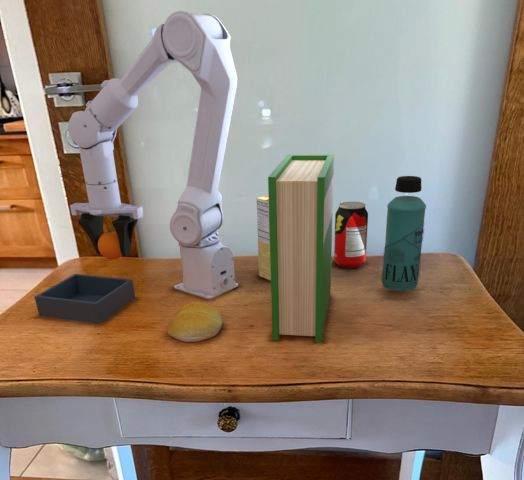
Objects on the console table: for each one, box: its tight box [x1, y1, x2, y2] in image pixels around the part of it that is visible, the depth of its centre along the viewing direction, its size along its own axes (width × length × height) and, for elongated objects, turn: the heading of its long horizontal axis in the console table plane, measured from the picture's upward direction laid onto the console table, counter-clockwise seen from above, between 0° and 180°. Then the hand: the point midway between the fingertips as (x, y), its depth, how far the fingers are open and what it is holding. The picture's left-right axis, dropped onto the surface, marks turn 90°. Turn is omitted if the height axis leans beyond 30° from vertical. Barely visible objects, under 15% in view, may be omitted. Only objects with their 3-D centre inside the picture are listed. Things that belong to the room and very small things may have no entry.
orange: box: [98, 229, 123, 260], centre depth 107 cm, size 5×5×6 cm
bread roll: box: [166, 301, 224, 343], centre depth 86 cm, size 8×9×4 cm
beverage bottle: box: [380, 175, 427, 292], centre depth 94 cm, size 6×7×20 cm
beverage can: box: [333, 201, 369, 269], centre depth 109 cm, size 6×6×12 cm
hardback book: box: [267, 154, 335, 343], centre depth 85 cm, size 18×7×24 cm, turn 170°
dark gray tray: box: [34, 273, 136, 325], centre depth 96 cm, size 12×11×4 cm
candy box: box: [256, 194, 271, 282], centre depth 105 cm, size 9×4×15 cm, turn 129°
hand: (113, 253), depth 108 cm, fingers closed on orange, 5 cm apart
